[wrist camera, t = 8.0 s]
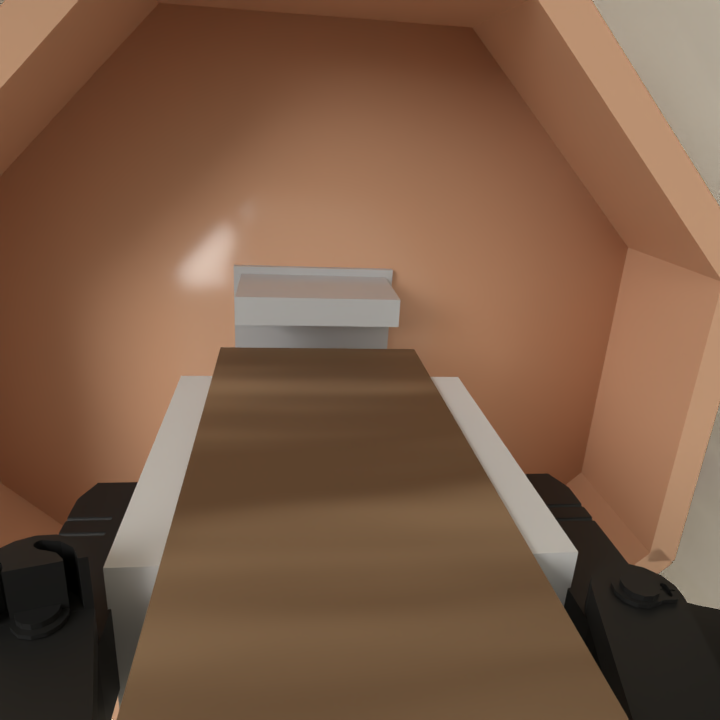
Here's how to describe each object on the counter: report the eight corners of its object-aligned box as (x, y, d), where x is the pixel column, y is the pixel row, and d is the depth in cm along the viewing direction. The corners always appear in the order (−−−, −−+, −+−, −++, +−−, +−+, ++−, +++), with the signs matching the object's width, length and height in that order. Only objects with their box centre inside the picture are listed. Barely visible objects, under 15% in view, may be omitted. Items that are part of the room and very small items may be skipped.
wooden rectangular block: (220, 347, 16) (-90, 1457, 3) (414, 349, 16) (934, 1248, 3) (223, 451, 17) (15, 1610, 4) (405, 449, 17) (772, 1430, 4)
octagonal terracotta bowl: (-127, -64, 14) (-326, -154, 9) (695, 7, 17) (854, -35, 12) (8, 629, 21) (-67, 770, 17) (566, 603, 24) (634, 718, 19)
